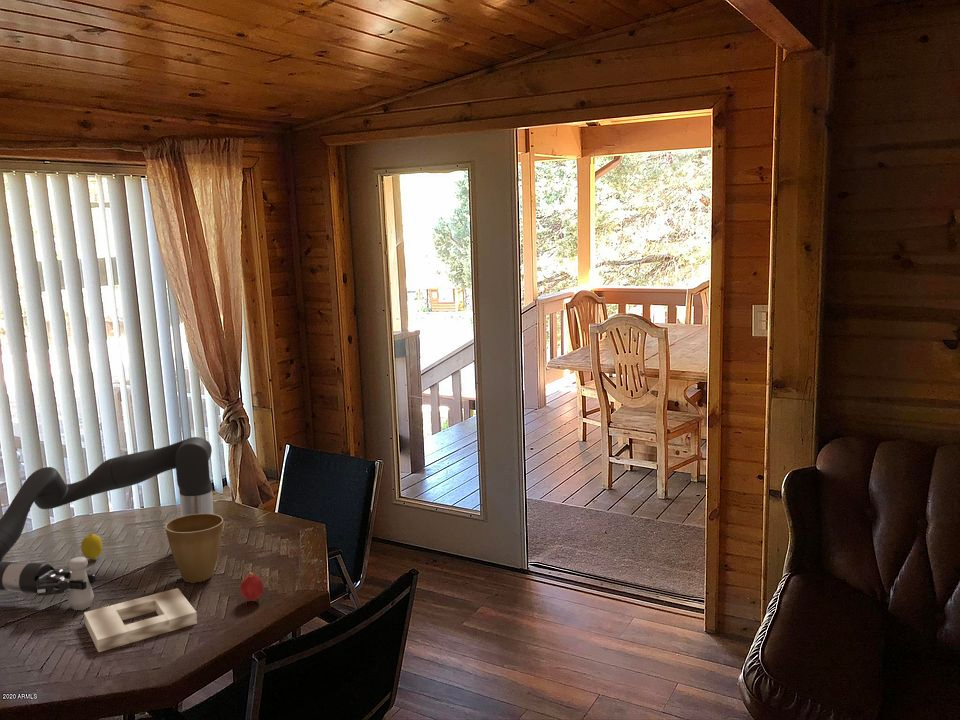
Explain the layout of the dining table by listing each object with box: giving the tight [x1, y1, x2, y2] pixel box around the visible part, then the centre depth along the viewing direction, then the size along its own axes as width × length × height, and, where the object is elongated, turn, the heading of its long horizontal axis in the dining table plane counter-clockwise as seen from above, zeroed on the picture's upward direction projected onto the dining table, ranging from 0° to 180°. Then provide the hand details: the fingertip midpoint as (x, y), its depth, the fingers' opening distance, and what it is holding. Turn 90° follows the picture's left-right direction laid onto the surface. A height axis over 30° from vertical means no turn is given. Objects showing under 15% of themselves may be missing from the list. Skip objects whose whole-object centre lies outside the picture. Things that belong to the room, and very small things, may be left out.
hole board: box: [83, 587, 198, 653], centre depth 186 cm, size 22×16×3 cm
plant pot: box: [164, 513, 224, 584], centre depth 211 cm, size 15×15×16 cm
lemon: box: [80, 533, 104, 561], centre depth 223 cm, size 6×6×8 cm
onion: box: [239, 572, 265, 602], centre depth 197 cm, size 6×6×8 cm
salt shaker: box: [67, 556, 95, 612], centre depth 194 cm, size 6×6×13 cm
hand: (89, 581), depth 193 cm, fingers closed on salt shaker, 3 cm apart
